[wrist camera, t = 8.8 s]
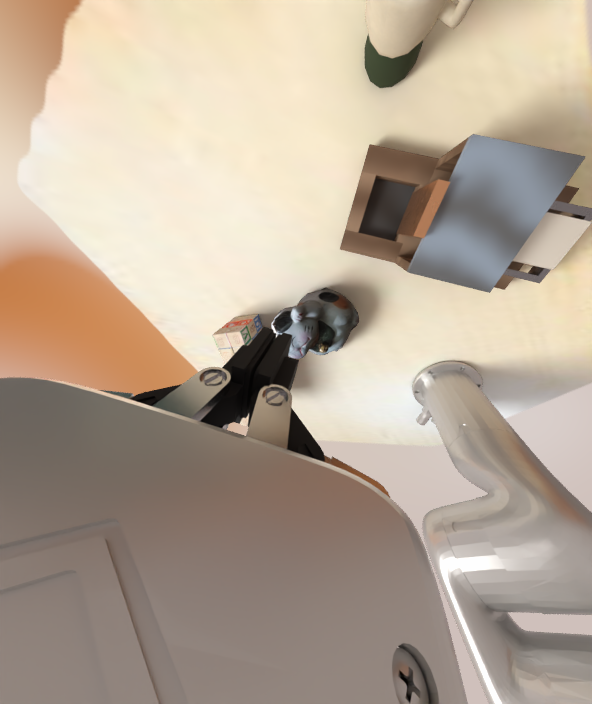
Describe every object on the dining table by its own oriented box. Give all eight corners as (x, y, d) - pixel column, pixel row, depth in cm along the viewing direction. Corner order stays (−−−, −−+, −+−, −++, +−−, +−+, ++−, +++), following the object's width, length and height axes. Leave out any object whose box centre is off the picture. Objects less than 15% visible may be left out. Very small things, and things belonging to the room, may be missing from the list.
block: (518, 262, 30) (553, 269, 25) (483, 254, 31) (510, 259, 26) (547, 222, 28) (592, 222, 23) (508, 214, 28) (544, 211, 23)
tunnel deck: (494, 285, 35) (549, 307, 25) (340, 247, 36) (338, 255, 27) (561, 191, 28) (669, 173, 19) (368, 150, 30) (377, 114, 20)
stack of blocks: (233, 316, 48) (202, 341, 37) (259, 313, 46) (233, 338, 35) (259, 390, 57) (240, 426, 47) (281, 390, 56) (266, 427, 45)
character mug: (454, 34, 24) (548, -133, 13) (407, 117, 27) (447, 44, 16) (372, -29, 23) (397, -270, 12) (335, 66, 26) (328, -48, 15)
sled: (529, 280, 31) (591, 298, 23) (391, 246, 32) (405, 253, 24) (583, 211, 26) (684, 204, 18) (419, 175, 28) (448, 155, 20)
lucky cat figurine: (331, 359, 48) (290, 393, 39) (295, 323, 50) (249, 347, 41) (373, 314, 36) (328, 348, 28) (324, 270, 39) (270, 288, 30)
